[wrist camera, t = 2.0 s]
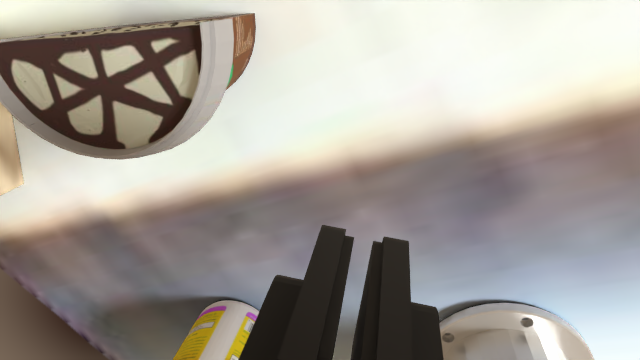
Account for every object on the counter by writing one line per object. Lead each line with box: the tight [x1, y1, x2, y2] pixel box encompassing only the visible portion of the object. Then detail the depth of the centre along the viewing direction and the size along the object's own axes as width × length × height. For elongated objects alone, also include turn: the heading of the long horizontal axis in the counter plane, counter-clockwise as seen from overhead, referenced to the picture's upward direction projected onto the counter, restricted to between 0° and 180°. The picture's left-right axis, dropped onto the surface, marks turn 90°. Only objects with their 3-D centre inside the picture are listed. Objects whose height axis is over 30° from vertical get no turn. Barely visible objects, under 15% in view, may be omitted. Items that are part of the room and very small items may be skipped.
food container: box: [0, 13, 256, 159], centre depth 24 cm, size 12×6×10 cm, turn 95°
